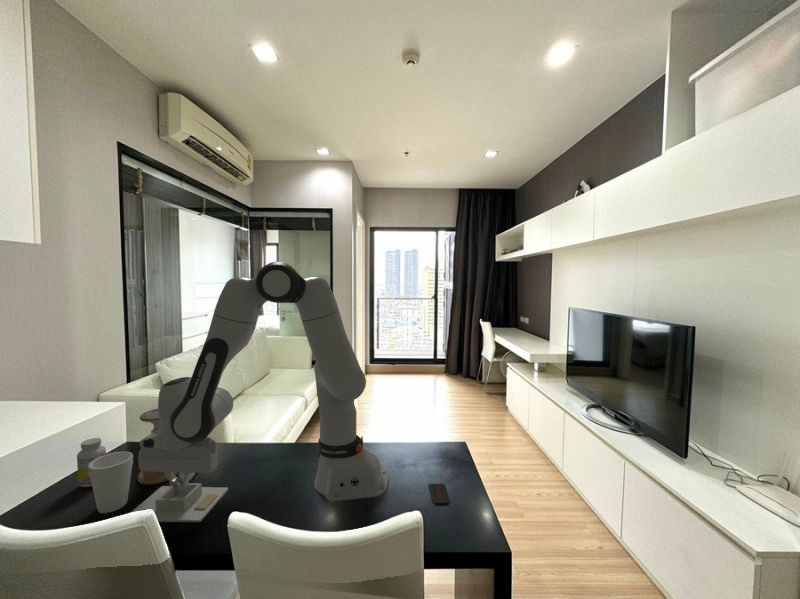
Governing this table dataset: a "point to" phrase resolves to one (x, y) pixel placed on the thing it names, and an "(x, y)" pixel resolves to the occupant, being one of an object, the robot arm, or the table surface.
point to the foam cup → (111, 480)
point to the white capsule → (184, 476)
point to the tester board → (183, 502)
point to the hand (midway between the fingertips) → (179, 485)
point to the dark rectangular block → (438, 494)
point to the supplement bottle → (88, 459)
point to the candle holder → (155, 420)
